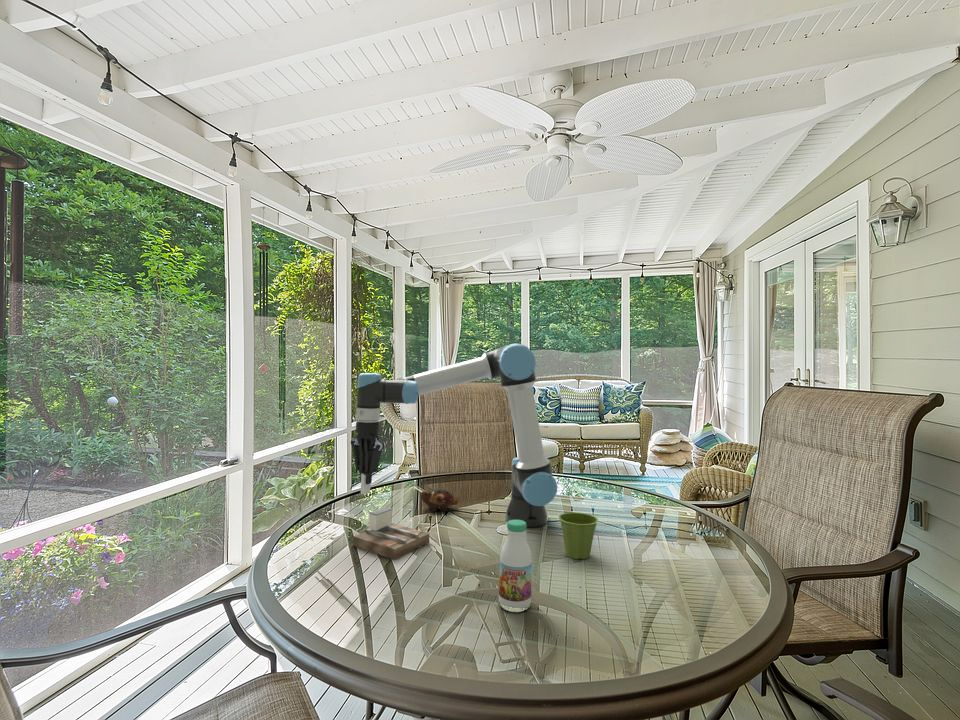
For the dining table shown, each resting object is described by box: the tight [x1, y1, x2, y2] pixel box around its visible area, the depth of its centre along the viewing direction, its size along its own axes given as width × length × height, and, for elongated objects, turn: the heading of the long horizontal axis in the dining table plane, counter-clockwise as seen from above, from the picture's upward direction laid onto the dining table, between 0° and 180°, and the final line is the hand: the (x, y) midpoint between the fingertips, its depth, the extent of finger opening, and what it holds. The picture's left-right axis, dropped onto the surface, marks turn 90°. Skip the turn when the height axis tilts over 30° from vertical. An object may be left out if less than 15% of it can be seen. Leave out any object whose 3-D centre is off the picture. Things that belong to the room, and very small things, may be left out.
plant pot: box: [558, 511, 599, 560], centre depth 149 cm, size 12×12×11 cm
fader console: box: [352, 522, 430, 560], centre depth 153 cm, size 17×16×4 cm
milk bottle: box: [498, 520, 533, 608], centre depth 117 cm, size 8×8×20 cm
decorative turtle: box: [420, 488, 460, 513], centre depth 190 cm, size 10×15×8 cm, turn 115°
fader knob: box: [368, 506, 393, 533], centre depth 156 cm, size 3×7×6 cm, turn 148°
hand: (365, 493), depth 159 cm, fingers closed
